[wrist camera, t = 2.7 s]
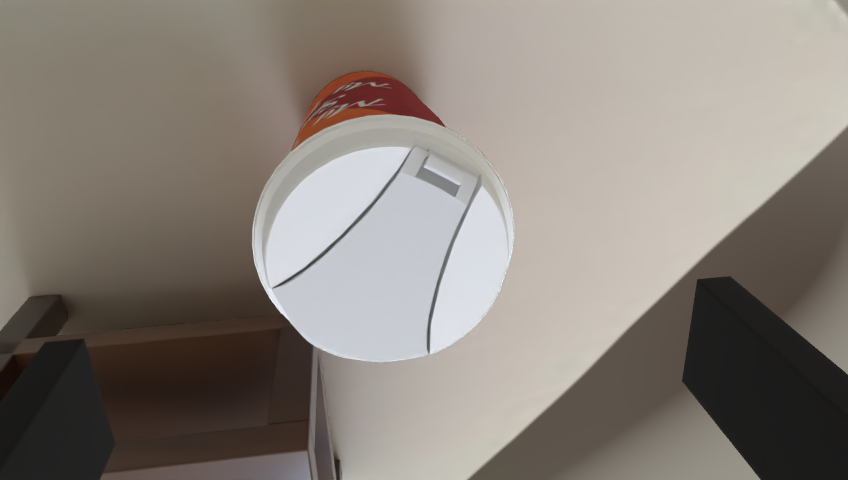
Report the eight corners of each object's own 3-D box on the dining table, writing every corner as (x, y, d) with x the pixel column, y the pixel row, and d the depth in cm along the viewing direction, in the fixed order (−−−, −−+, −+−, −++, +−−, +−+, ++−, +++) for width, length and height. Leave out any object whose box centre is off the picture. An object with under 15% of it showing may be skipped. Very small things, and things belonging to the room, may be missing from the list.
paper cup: (329, 13, 28) (326, 71, 16) (477, 97, 31) (578, 208, 18) (254, 166, 31) (198, 323, 18) (396, 234, 33) (435, 415, 20)
